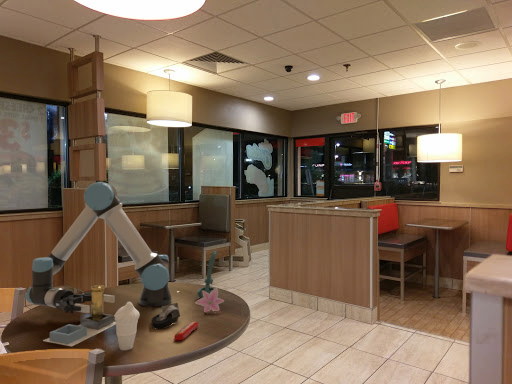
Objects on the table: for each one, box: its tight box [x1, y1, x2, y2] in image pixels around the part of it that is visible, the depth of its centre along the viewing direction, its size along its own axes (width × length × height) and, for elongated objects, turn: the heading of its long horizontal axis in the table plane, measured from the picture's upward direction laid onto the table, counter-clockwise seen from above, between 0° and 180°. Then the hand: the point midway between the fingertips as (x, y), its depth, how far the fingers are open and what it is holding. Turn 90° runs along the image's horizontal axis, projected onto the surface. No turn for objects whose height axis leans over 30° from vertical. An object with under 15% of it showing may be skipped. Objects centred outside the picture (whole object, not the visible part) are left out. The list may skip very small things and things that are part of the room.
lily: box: [194, 287, 225, 313], centre depth 165 cm, size 12×12×10 cm
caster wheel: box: [151, 302, 181, 330], centre depth 147 cm, size 7×11×10 cm
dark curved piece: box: [197, 250, 218, 298], centre depth 182 cm, size 14×10×25 cm
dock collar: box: [49, 323, 87, 344], centre depth 130 cm, size 8×8×3 cm
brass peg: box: [90, 284, 106, 321], centre depth 143 cm, size 5×5×15 cm
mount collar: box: [80, 313, 114, 330], centre depth 143 cm, size 8×8×3 cm
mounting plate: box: [42, 321, 116, 347], centre depth 137 cm, size 24×13×1 cm, turn 162°
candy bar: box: [173, 321, 199, 342], centre depth 138 cm, size 16×4×3 cm, turn 165°
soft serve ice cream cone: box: [113, 301, 141, 351], centre depth 125 cm, size 8×8×16 cm
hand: (102, 304), depth 143 cm, fingers open, 13 cm apart
